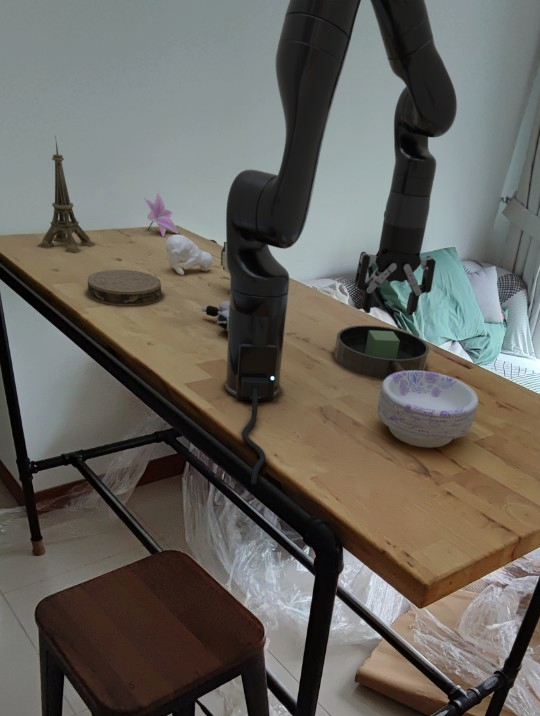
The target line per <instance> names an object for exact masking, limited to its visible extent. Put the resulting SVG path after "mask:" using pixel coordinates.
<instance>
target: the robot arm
mask: <svg viewBox="0 0 540 716" xmlns="http://www.w3.org/2000/svg"><path fill="white" fill-rule="evenodd" d="M369 1H370V4H371V7H372V10H373V13H374V17H375V19H376V23H377V26H378V30H379V33H380V37H381V41H382V44H383V47H384V48H383V49H384V51H385V54H386V57H387V58H386V59H387V61H388V65H389V67H390V70H391V71H392V73H393V75H394V76H395V77H397V78H398V79H400V80H401V81H402V82H403V83H404V85H405V87H404V88H403V89H402V91H401V93H400V94H399V96H398V99H397V102H396V104H395V110H394V117H393V147H394V148H393V149H394V165H393V170H392V177H391V184H390V189H389V194H388V198H387V201H386V205H385V210H384V212H383V222H382V227H381V228H382V229H381V233H380V240H379V244H378V246H379V247H378V251H377V252H376V254H371V253H367V251H361V252H360V255H359V260H358V264H357V269H356V274H355V279H354V285H355V286H356V287H357V288H358V289H359V290H361V291H362V297H361V305H360V306H361V309H362V310H363V311H364V313H365V314H370V313H371V308H372V303H373V296H374V293H373V292H374V291H375V290H376V288H377V287H378V286H380V285H382V284H383V283H384V282H385V281H387V282H395V281H396V282H399V283H404V282H405V281H406V282H407V284H408V286H409V288H410V291H411V292H409V294H408V299H407V304H406V309H405V313H406V314H407V316H413V314H414V313H416V311H417V310H418V304H419V300H420V296H421V295H422V294H425V293H426V294H429V293H431V291H432V287H433V281H434V274H435V269H436V263H437V262H436V260H435V259H434V258H433V256H431V255H427V256H425V257H421V252H422V249H423V248H422V247H423V242H424V237H425V233H426V227H427V223H428V217H429V215H430V206H431V197H432V191H433V187H434V181H435V178H436V177H435V176H436V171H437V160H436V158H435V156H434V155H433V154H432V153H431V152H430V150H429V138H434V139H435V138H440V137H442V136H444V135H445V134H447V133H448V132H449V131H450V129H451V128H452V126H453V125H454V123H455V120H456V117H457V110H458V100H457V94H456V89H455V87H454V84H453V81H452V78H451V77H450V75H449V72H448V70H447V68H446V65H445V63H444V61H443V59H442V56H441V55H440V53H439V51H438V49H437V47H436V45H435V39H434V34H433V30H432V26H431V21H430V18H429V13H428V8H427V5H426V4H427V3H426V0H369ZM361 2H362V0H289V2H288V5H287V7H286V11H285V15H284V19H283V23H282V28H281V32H280V34H279V40H278V44H277V49H276V52H275V53H276V54H275V66H274V67H275V77H276V82H277V88H278V93H279V99H280V102H281V107H282V111H283V117H284V125H285V139H284V147H283V148H284V149H283V152H282V153H283V154H282V160H281V163H280V167H279V171H278V173H277V174H276V173H275V174H274V173H271V172H267V171H262V170H258V169H257V170H256V169H244V170H242V171H240V172H239V173H238V174H237V175H236V176H235V178H234V179H233V181H232V183H231V185H230V188H229V191H228V195H227V201H226V210H225V211H226V212H225V219H226V220H225V235H226V237H225V238H226V241H225V242H226V245H227V267H228V270H229V273H228V274H229V277H230V279H229V281H230V284H229V301H230V305H229V327H228V331H227V351H226V352H227V353H226V378H225V379H226V380H225V390H226V391H227V392H228V393H229V394H230V395H232V396H233V397H235V398H236V400H237V401H252V403H251V415H250V420H249V422H248V423H247V424H246V426H245V427H244V428H243V430H242V432H241V433H242V434H241V435H242V438H243V441H244V442H245V443H246V444H247V445H248V446H249V447H250V448H251V449H252V450H254V451H255V452H256V453H257V454H258V456H259V460H257V462H256V463H255V464H254V467H253V468H252V472H251V475H250V477H251V478H250V484H251V485H256V484H257V483H258V476H259V472H260V470H261V468H262V467H263V466H264V464H265V462H266V459H267V457H266V454H265V452H264V449H262V447H260V446H259V445H258V444H257V443H256V442H255V441H253V440H252V439H251V438H250V436H249V432H250V431H251V430H252V428H254V425H255V424H256V421H257V415H258V408H259V407H258V405H259V404H258V403H259V401H263V402H265V401H266V402H273V401H274V398H276V397H277V396H278V395H279V394H280V388H281V385H280V384H281V383H280V382H281V372H282V362H283V350H284V340H285V329H286V318H287V309H288V299H289V298H288V297H289V289H290V274H289V271H288V270H287V269H286V267H284V266H283V265H282V264H281V263H280V262H279V261H278V260H277V259H276V257H275V256H274V255H273V254H272V251H271V250H270V247H269V246H271V247H274V248H278V249H284V250H285V249H290V248H291V247H293V246H294V245H295V244H296V243H297V242H298V240H299V239H300V237H301V235H302V234H303V231H304V229H305V226H306V223H307V220H308V216H309V212H310V209H311V203H312V198H313V194H314V187H315V184H316V183H315V182H316V177H317V172H318V168H319V167H318V166H319V161H320V156H321V151H322V147H323V142H324V138H325V133H326V130H327V126H328V122H329V118H330V114H331V110H332V107H333V104H334V100H335V96H336V93H337V89H338V85H339V82H340V79H341V76H342V72H343V70H344V65H345V62H346V58H347V55H348V52H349V48H350V45H351V41H352V37H353V32H354V28H355V23H356V19H357V15H358V12H359V9H360V5H361ZM373 263H375V264H376V265H375V266H376V267H377V268H376V269H375V270H374V271H373V272H372V274H371V275H370V277H369V278H368V279H367V275H368V271H369V268H370V267H372V265H373ZM419 267H421V269H422V277H421V284H419V282H418V281H417V278H416V275H415V274H414V273H415V272H416V271H417V270H418V268H419ZM366 279H367V280H366Z"/></svg>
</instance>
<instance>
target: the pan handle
mask: <svg viewBox="0 0 540 716" xmlns="http://www.w3.org/2000/svg"><path fill="white" fill-rule="evenodd" d="M390 369H391V371H392V373H397V372H401V371H405V370H404V369H403V367H402V366H401V364H400V363H399V362H397V361H395V362H393V363H391V365H390Z"/></svg>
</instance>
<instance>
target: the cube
mask: <svg viewBox="0 0 540 716" xmlns="http://www.w3.org/2000/svg"><path fill="white" fill-rule="evenodd" d="M399 342H400V340H399V339H398V338H397V336H396V335H395V334H394V332H392V331H372V330H369V333H368V338H367V344H366V350H365V354H366V355H370V356H374V357H379V358H386V359H396V357H397V352H398V347H399Z"/></svg>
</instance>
